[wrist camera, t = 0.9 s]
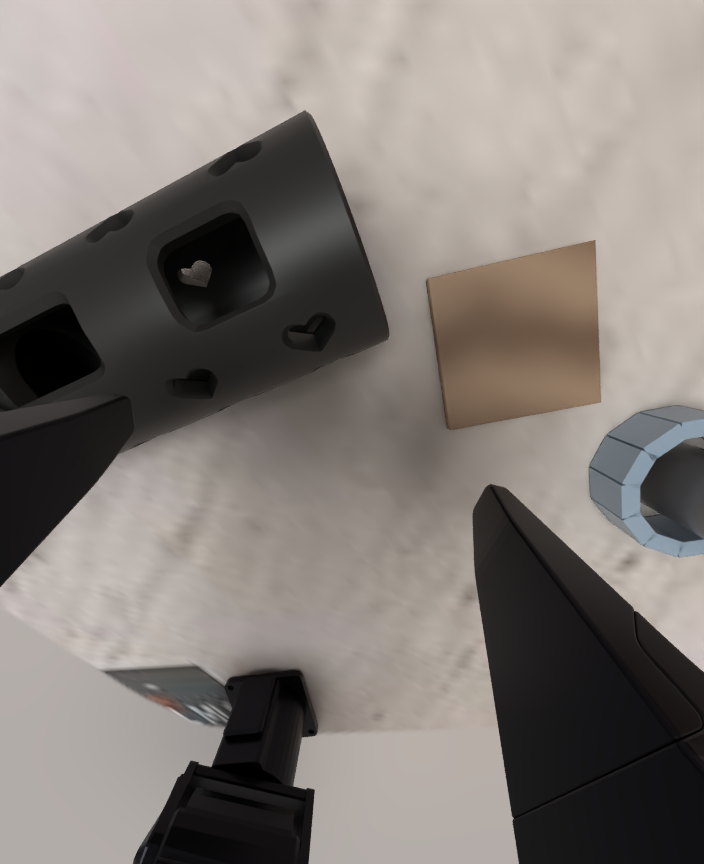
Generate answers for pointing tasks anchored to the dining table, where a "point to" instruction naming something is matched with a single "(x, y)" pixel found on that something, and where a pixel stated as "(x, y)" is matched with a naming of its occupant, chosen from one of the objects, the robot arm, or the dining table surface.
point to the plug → (677, 487)
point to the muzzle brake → (197, 291)
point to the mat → (518, 336)
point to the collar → (643, 476)
